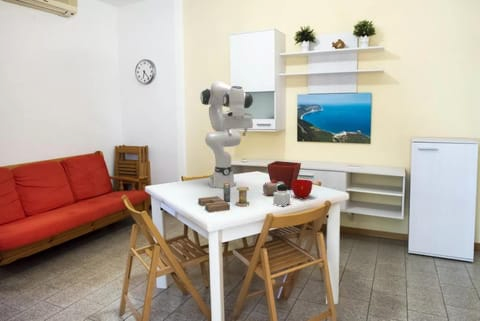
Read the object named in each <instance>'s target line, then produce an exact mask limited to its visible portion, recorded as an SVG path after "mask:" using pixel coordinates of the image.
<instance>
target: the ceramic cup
mask: <svg viewBox="0 0 480 321" xmlns="http://www.w3.org/2000/svg"><path fill="white" fill-rule="evenodd" d="M312 189H313V180H308V179H297V180H293V181H292V188H291V190H292V193H293V194H294V196H295V197H296V198H297V197H298V199H307V198H308V197H309V196H310V195H311V192H312ZM306 197H307V198H306Z"/></svg>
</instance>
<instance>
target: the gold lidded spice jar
mask: <svg viewBox="0 0 480 321" xmlns="http://www.w3.org/2000/svg"><path fill="white" fill-rule="evenodd" d="M223 200H224V201H225V202H227V203H230V202H231V187H230V183H224V184H223Z"/></svg>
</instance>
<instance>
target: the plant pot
mask: <svg viewBox="0 0 480 321" xmlns="http://www.w3.org/2000/svg"><path fill="white" fill-rule="evenodd" d="M301 166H302V162H295V161H294V162H293V161H282V160H274V161H272V162H270V163H268V164H267V171H268V176H269V177H268V178H269V182H271V181H272V180H273V179H274V180H276V181H277V182H284V183H285V184H286V185H287V191H288V190H289V191H290V190H292V181H293V180H298V178H299V175H300V170H301Z"/></svg>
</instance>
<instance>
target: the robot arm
mask: <svg viewBox="0 0 480 321" xmlns="http://www.w3.org/2000/svg"><path fill="white" fill-rule="evenodd" d="M199 97H200V98H199V99H200V101H201V104H202V105H205V106H208V105H209V108H208V116H209V121H210V124H211V128H212V129H213V130H214V131H211V132H207V134H206V135H205V138H204V139H205V140H204V143H205V144H206V146H207V147H208V148H210V150H212V152H213V154H214V158H215V159H214V160H215V166H214V172H213V173H212V174H211V176H210V177H209V179H210V180H209V181H207V183H208V185H209V186H210V188H217V189H218V188H219V189H222V188H223V184H224V183H230V188H233V187H234V186H236V185H237V184H236V182H235V176H234V173H233V172H232V171H233V167H232V155H231V154H230V153H229V152H227V151H226V150H225V149H224V148H225V147H226V148H228V147H230V148H231V147H236V146H238V145H240V143H241V141H242V137H246V136H247V135H246V134H247V132H248V129H252V128H253V127H254V122H253V115H252V114H251V113H249V112H248V113H247V112H246V113H245V109H249V108H251V106H252V105H253V104H254V97H253V96H252V94H251V93H250V92H249V91H247V92H245V90H244V88H243V87H242V86H238V85H233V86H231V85H229V84H227V83H226V82H224V81H222V80H215V81H213V82H212V83H211V85H210V88H205V89H203V90H202V91H201V92H200V96H199ZM223 107H226V108H229V110H227V111H224V110H223ZM236 129H237V130H239V129H240V130H241V129H242V130H243V133H241V134H240V133H239V132H238V131H236ZM241 136H242V137H241Z"/></svg>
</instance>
